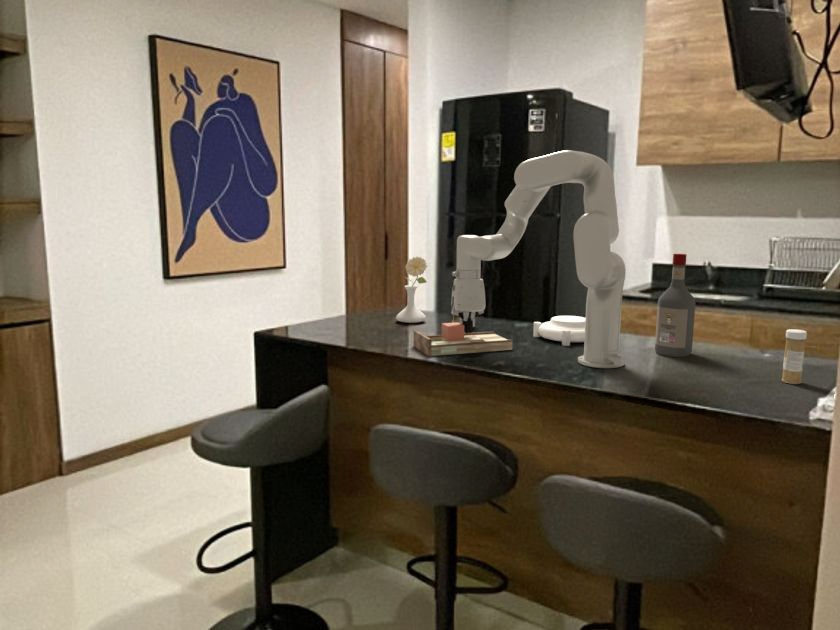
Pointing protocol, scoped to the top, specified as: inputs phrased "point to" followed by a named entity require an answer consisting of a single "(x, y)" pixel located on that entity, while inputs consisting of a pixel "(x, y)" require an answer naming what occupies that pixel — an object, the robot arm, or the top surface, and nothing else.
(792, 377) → the sprinkles bottle
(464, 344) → the board
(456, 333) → the block
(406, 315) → the flower in vase
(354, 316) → the top surface
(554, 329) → the round stand with pegs
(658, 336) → the liquor
